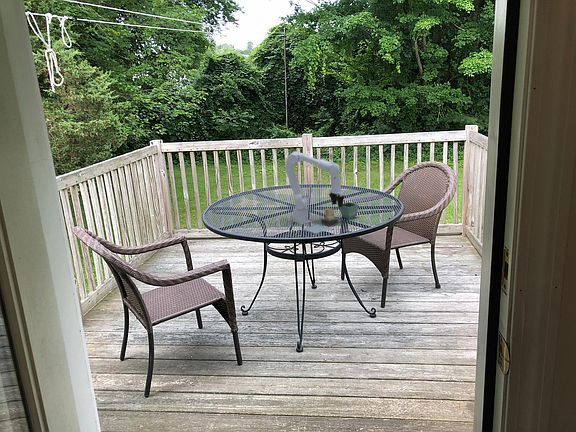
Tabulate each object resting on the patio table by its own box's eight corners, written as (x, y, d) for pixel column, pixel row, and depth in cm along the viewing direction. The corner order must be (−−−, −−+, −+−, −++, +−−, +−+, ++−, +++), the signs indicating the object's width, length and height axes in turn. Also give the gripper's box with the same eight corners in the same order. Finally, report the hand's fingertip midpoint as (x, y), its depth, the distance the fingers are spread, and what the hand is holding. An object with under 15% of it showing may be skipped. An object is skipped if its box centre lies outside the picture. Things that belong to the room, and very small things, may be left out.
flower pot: (348, 221, 285) (348, 207, 282) (339, 218, 291) (338, 204, 289) (358, 218, 289) (358, 204, 287) (349, 215, 296) (348, 202, 294)
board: (302, 230, 273) (302, 229, 273) (317, 225, 280) (317, 224, 280) (315, 234, 264) (315, 233, 264) (331, 229, 271) (331, 228, 271)
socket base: (311, 222, 286) (311, 219, 285) (330, 217, 295) (330, 213, 295) (328, 228, 274) (328, 224, 273) (347, 221, 283) (347, 218, 282)
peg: (324, 221, 285) (324, 209, 282) (329, 220, 287) (329, 207, 285) (329, 222, 282) (328, 210, 279) (334, 221, 284) (333, 208, 282)
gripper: (347, 184, 271) (348, 206, 275) (336, 180, 285) (337, 202, 288) (336, 186, 269) (338, 208, 273) (325, 182, 282) (327, 204, 286)
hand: (337, 205), depth 280 cm, fingers open, 7 cm apart
